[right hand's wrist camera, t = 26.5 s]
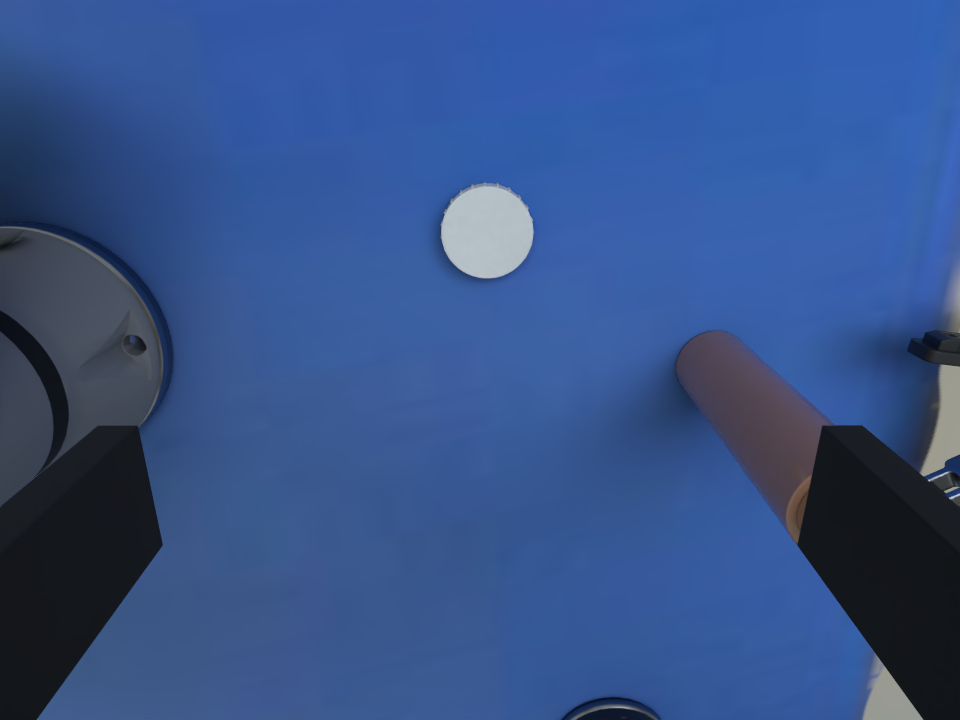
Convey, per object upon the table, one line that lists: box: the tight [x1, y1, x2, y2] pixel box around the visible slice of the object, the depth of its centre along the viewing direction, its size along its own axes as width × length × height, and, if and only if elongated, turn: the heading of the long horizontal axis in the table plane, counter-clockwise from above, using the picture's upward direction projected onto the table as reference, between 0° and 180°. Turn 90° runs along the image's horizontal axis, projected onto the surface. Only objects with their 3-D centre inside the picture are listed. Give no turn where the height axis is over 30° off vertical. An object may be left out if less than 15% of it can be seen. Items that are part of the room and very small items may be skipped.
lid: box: [441, 182, 534, 278], centre depth 40 cm, size 6×6×2 cm
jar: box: [676, 331, 836, 544], centre depth 35 cm, size 5×5×18 cm
